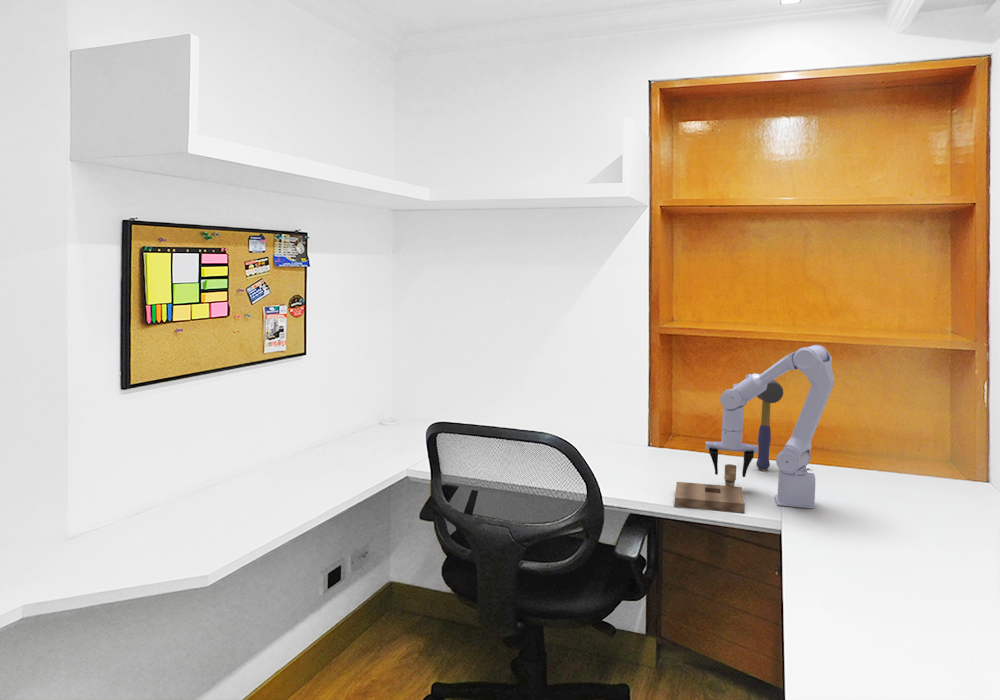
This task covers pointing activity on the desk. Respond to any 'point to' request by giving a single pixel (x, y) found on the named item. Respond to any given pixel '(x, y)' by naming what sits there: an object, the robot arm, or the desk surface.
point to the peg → (730, 475)
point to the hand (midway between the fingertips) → (729, 474)
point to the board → (709, 497)
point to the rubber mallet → (767, 422)
